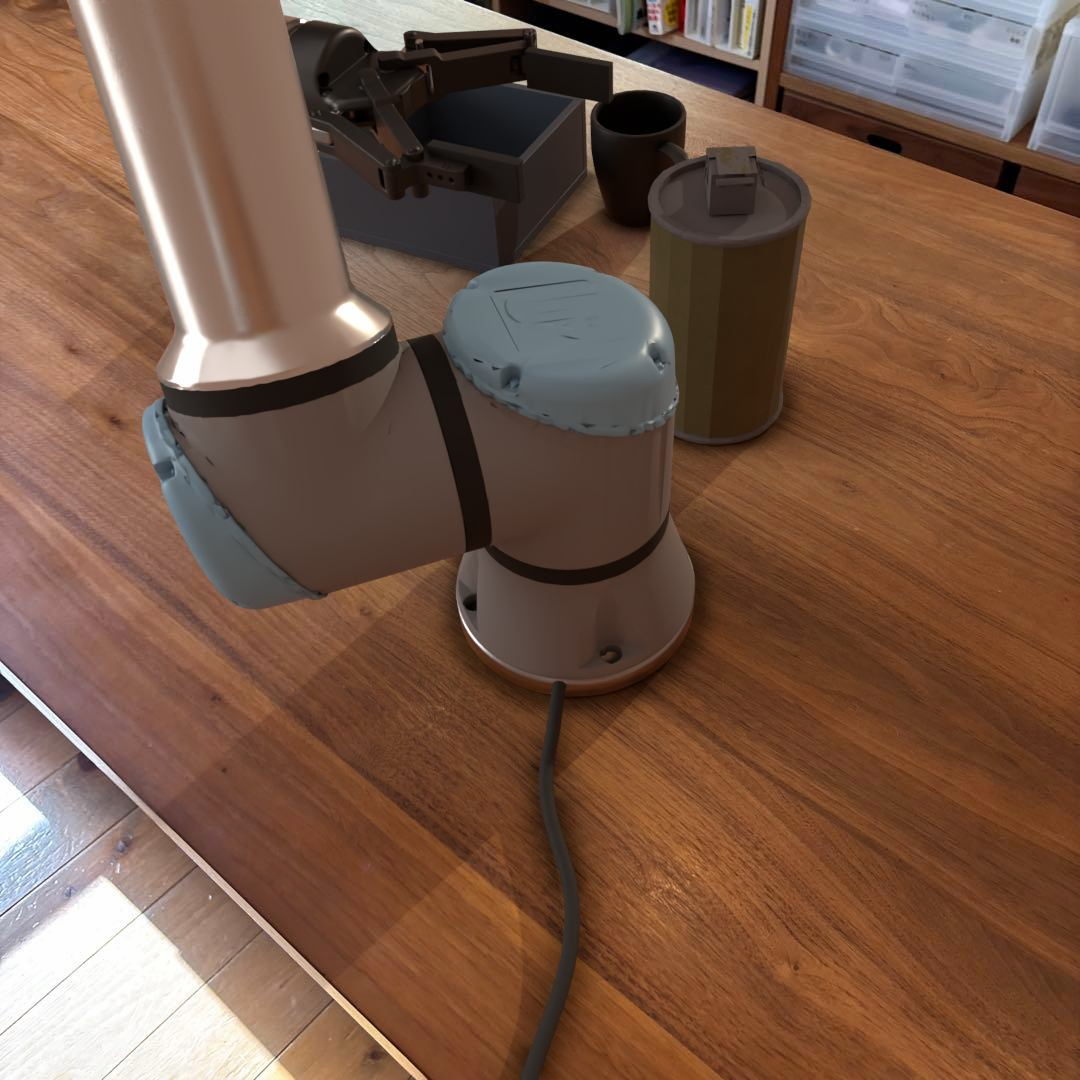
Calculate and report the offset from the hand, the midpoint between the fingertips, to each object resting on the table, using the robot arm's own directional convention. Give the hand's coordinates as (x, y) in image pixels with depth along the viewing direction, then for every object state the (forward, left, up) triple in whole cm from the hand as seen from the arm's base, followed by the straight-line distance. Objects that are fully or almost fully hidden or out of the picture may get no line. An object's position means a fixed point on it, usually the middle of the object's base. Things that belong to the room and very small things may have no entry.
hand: (569, 130), depth 74 cm
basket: (+16, +20, -19) cm, 32 cm away
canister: (0, -11, -20) cm, 23 cm away
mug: (+20, +3, -20) cm, 28 cm away
